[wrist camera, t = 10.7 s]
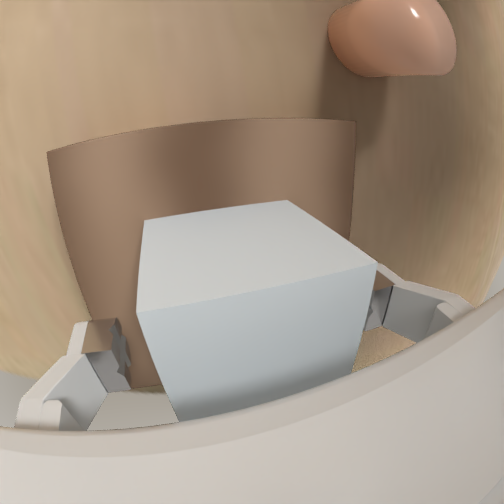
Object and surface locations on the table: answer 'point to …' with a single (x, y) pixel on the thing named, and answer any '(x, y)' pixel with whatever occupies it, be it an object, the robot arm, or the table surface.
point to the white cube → (249, 305)
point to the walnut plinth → (187, 195)
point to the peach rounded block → (393, 38)
